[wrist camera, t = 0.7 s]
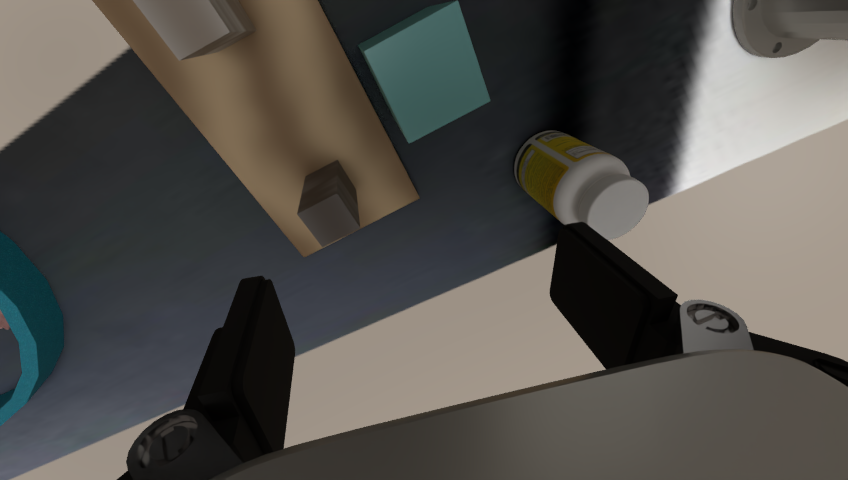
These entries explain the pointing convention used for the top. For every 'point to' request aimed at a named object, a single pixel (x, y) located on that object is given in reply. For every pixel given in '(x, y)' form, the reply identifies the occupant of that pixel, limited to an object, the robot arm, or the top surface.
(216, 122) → the post board
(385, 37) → the teal rectangular block
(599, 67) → the top surface
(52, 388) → the top surface
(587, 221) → the pill bottle
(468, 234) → the top surface
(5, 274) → the teal round ring
